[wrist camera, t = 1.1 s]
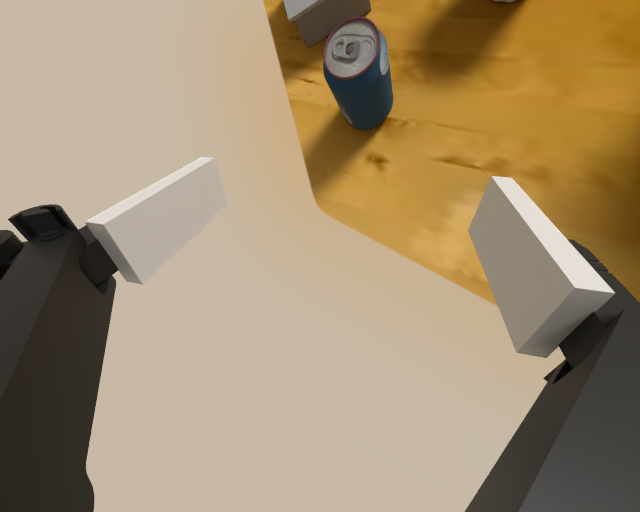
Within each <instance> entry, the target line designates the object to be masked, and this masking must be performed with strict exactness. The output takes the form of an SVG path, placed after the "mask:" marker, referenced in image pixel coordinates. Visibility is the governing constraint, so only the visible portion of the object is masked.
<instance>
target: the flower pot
mask: <svg viewBox="0 0 640 512" xmlns="http://www.w3.org/2000/svg"><path fill="white" fill-rule="evenodd" d="M493 1H495V2H498V1H503V2H508V3H510V2H514V1H517V0H493Z"/></svg>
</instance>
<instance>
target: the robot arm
mask: <svg viewBox="0 0 640 512" xmlns="http://www.w3.org/2000/svg"><path fill="white" fill-rule="evenodd" d="M227 206H228V204H227V201H226V197H225V193H224V190H223V186H222V182H221V179H220V175H219V171H218V168H217V164H216V160H215V158H210V157H201V158H199V159H197V160H195V161H194V162H192V163H190V164H188V165H186V166H185V167H183V168H181V169H179V170H177V171H176V172H174V173H172V174H170V175H168V176H166V177H165V178H163V179H161V180H159V181H157V182H156V183H154V184H152V185H150V186H148V187H147V188H145V189H143V190H141V191H139V192H138V193H136V194H134V195H132V196H131V197H128V198H127V199H125V200H123V201H121V202H119V203H118V204H116V205H114V206H112V207H111V208H109V209H107V210H105V211H103V212H102V213H100V214H98V215H96V216H94V217H92V218H90V219H89V220H87V221H85V223H86V226H84V227H83V228H81V229H79V230H78V229H77V227H76V226H75V225H74V223H73V222H72V221H71V220H70V218H69V217H68V215H67V214H66V213H65V211H64V210H63V209H62V207H61V206H59V205H51V204H50V205H42V206H37V207H33V208H30V209H27V210H24V211H21V212H19V213H17V214H15V215H13V216H12V217H10V218H9V219H8V220H9V221H10V222H11V223H12V224H13V225H14V226H15V227H16V228H17V230H18V231H19V232H20V233H21V234H22V235H23V236H24V237H25V238H26V239H27V240H28V241H27V242H21V241H20V240H19V239H18V237H17V236H16V235H15V234H14V233H13V232H12V231H9V230H0V512H93V511H94V492H93V487H92V484H91V482H90V480H89V478H88V476H87V473H86V458H87V453H88V447H89V441H90V435H91V429H92V424H93V417H94V411H95V406H96V400H97V394H98V388H99V382H100V376H101V371H102V364H103V358H104V353H105V347H106V341H107V335H108V329H109V324H110V317H111V312H112V306H113V300H114V294H115V288H116V280H115V279H114V277H113V276H112V274H114V273H115V272H116V271H117V270H119V271H120V273H121V274H122V276H123V277H124V279H125V280H126V281H127V282H133V283H138V284H143V283H145V282H146V281H147V280H148V279H149V278H150V277H151V276H152V275H153V274H154V273H155V272H157V271H158V270H159V269H160V268H161V267H162V266H163V265H164V264H165V263H166V262H167V261H168V260H169V259H170V258H172V256H174V255H175V254H176V253H177V252H178V251H179V250H180V249H181V248H182V247H184V246H185V245H186V244H187V243H188V242H189V241H190V240H191V239H192V238H193V237H194V236H195V235H196V234H198V233H199V231H201V230H202V229H203V228H204V227H205V226H206V225H207V224H208V223H209V222H210V221H211V220H212V219H214V218H215V217H216V216H217V215H218V214H219V213H220V212H221V211H222V210H223V209H225V208H226V207H227ZM468 231H469V234H470V236H471V239H472V241H473V244H474V247H475V249H476V252H477V254H478V257H479V259H480V262H481V264H482V267H483V269H484V272H485V274H486V277H487V279H488V282H489V284H490V287H491V289H492V292H493V294H494V297H495V299H496V302H497V304H498V307H499V309H500V312H501V314H502V317H503V320H504V322H505V324H506V327H507V330H508V332H509V335H510V337H511V340H512V342H513V345H514V347H515V350H516V352H517V353H522V354H528V355H533V356H538V357H544V358H547V357H548V356H549V355H550V354H551V353H552V352H553V351H554V350H555V349H556V348H557V347H558V346H559V347H560V349H561V351H562V352H563V354H564V356H565V358H566V359H565V360H564V361H563V362H562V363H561V364H560V365H558V366H557V367H556V368H555V369H554V370H552V371H551V372H550V373H549V374H548V375H547V376H545V378H544V379H545V380H546V381H548V382H547V384H546V386H545V387H544V389H543V390H542V392H541V393H540V395H539V396H538V398H537V400H536V401H535V403H534V404H533V406H532V408H531V409H530V411H529V412H528V414H527V415H526V417H525V418H524V420H523V422H522V423H521V425H520V426H519V428H518V429H517V431H516V433H515V434H514V436H513V437H512V439H511V440H510V442H509V444H508V445H507V447H506V448H505V450H504V451H503V453H502V455H501V456H500V458H499V459H498V461H497V462H496V464H495V465H494V467H493V469H492V470H491V472H490V473H489V475H488V476H487V478H486V479H485V481H484V483H483V484H482V486H481V487H480V489H479V490H478V492H477V494H476V495H475V497H474V498H473V500H472V501H471V503H470V504H469V506H468V508H467V509H466V511H465V512H640V303H639V302H638V301H637V300H636V299H635V298H634V297H633V296H632V294H631V293H630V292H629V291H628V290H627V289H626V288H625V287H624V286H623V285H622V284H621V283H620V282H619V281H618V280H617V279H616V278H615V277H614V276H613V275H612V274H611V273H608V269H607V268H606V267H605V266H604V265H603V264H602V263H599V260H598V259H597V258H596V257H595V256H594V255H593V254H592V253H591V252H590V251H589V250H588V249H586V248H585V247H583V246H582V245H580V244H578V243H577V242H575V241H574V240H569V239H566V238H565V237H564V235H563V234H562V233H561V232H560V231H559V230H558V229H557V228H556V227H555V225H554V224H553V223H552V222H551V221H550V220H549V219H548V218H547V217H546V215H545V214H544V213H543V212H542V211H541V210H540V209H539V208H538V207H537V205H536V204H535V203H534V202H533V201H532V200H531V199H530V198H529V197H528V195H527V194H526V193H525V192H524V191H523V190H522V189H521V188H520V186H519V185H518V184H517V183H516V182H515V181H514V180H513V179H512V178H509V177H495V176H491V178H490V181H489V183H488V185H487V188H486V190H485V193H484V195H483V197H482V200H481V202H480V204H479V207H478V209H477V211H476V214H475V216H474V218H473V221H472V223H471V225H470V228H469V230H468Z"/></svg>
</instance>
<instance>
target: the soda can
mask: <svg viewBox="0 0 640 512" xmlns="http://www.w3.org/2000/svg"><path fill="white" fill-rule="evenodd" d="M323 70H324V76H325V79H326V81H327V83H328V85H329V87H330V89H331V91H332V93H333V95H334V97H335V99H336V101H337V103H338V105H339V107H340V109H341V111H342V113H343V115H344V117H345V119H346V121H347V122H348V123H349V124H350V125H351V126H352V127H354V128H357V129H361V130H366V129H371V128H374V127H376V126H377V125H379V124H380V123H382V122H383V121H384V120H385V118H386V117H387V116H388V114H389V112H390V110H391V108H392V104H393V93H392V84H391V75H390V66H389V57H388V48H387V43H386V40H385V38H384V36H383V34H382V33H381V32H380V31H379V30H378V29H377V27H376V25H375V24H374V23H373V22H372V21H371V20H369V19H368V18H365V17H353V18H349V19H347V20H345V21H343V22H342V23H340V24H339V25H338V26H337V27H336V28H335V29H334V30H333V31H332V32H331V34H330V35H329V37H328V39H327V41H326V44H325V47H324V64H323Z"/></svg>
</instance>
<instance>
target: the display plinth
mask: <svg viewBox="0 0 640 512" xmlns="http://www.w3.org/2000/svg"><path fill="white" fill-rule="evenodd" d="M283 1H284V5H285V9H286V12H287V16H288V20H289V22H290V23H291V22H293V21H295V23H296V25H297V27H298V29H299V31H300V33H301V35H302V37H303V39H304V41H305V43H306V45H307V47H310V46H312V45H313V44H315V43H317V42H318V41H320V40H322V39H323V38H325V37H327V36H328V35H330V34H331V32H332V31H333V30H334V29H335V28H336V27H337V26H338V25H339V24H340V23H342V22H343V21H345V20H347V19H349V18H353V17H360V16H362V15H364V14H365V13H367V12H369V11H370V10H371V7H370V1H369V0H283Z"/></svg>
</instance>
